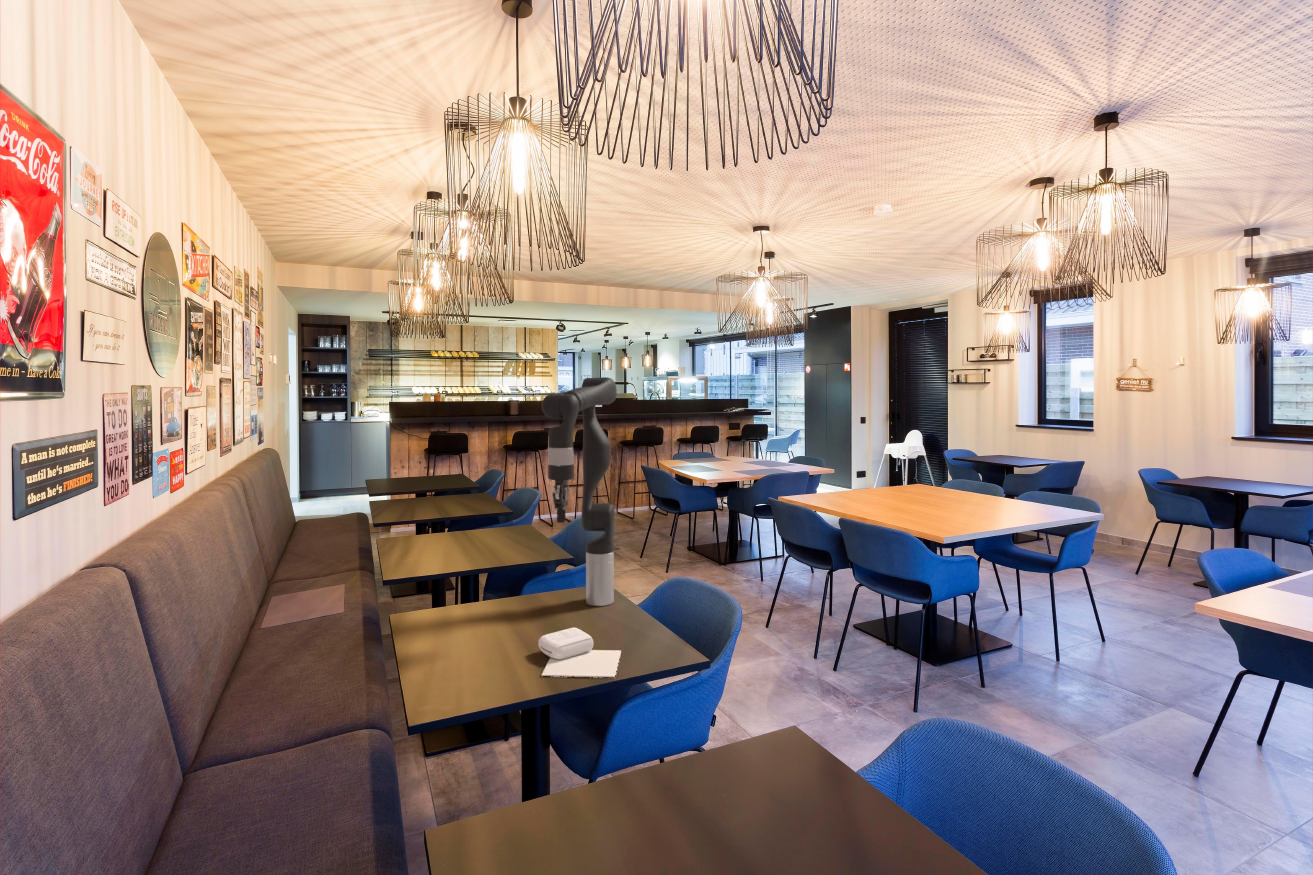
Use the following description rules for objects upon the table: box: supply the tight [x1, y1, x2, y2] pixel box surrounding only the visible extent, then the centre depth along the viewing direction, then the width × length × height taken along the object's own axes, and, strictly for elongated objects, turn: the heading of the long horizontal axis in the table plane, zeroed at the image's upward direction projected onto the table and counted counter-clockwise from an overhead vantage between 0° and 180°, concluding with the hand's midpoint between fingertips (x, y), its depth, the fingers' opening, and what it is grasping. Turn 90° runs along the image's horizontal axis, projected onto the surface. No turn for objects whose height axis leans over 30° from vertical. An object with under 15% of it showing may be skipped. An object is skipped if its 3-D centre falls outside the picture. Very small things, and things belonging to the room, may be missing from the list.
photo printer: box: [538, 627, 594, 659], centre depth 168 cm, size 10×4×12 cm
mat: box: [541, 649, 622, 679], centre depth 162 cm, size 16×18×1 cm
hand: (561, 521), depth 184 cm, fingers closed
